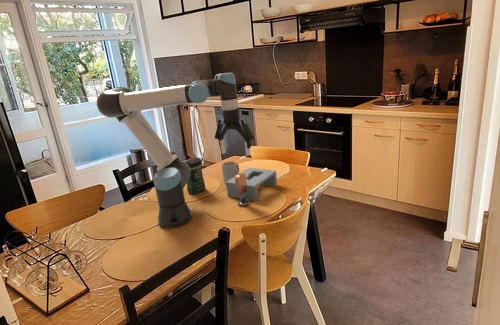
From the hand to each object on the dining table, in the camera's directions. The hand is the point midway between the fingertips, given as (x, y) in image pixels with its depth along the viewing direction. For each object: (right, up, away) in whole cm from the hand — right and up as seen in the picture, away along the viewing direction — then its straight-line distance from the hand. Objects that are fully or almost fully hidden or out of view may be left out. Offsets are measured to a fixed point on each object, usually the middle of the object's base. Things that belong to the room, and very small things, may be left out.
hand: (235, 154), depth 156 cm
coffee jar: (-22, -20, +28) cm, 41 cm away
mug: (-3, -15, +37) cm, 40 cm away
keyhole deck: (+8, -19, +20) cm, 29 cm away
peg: (+3, -24, +5) cm, 25 cm away
